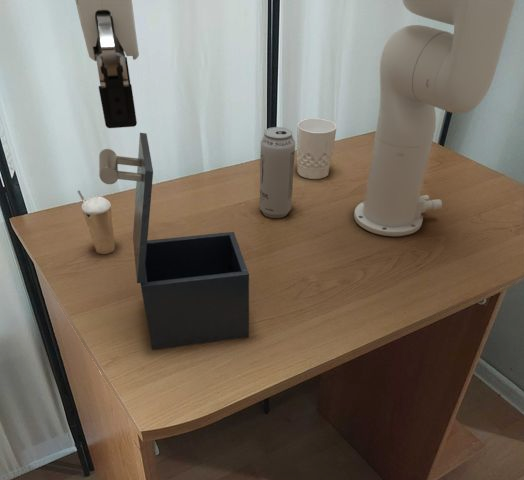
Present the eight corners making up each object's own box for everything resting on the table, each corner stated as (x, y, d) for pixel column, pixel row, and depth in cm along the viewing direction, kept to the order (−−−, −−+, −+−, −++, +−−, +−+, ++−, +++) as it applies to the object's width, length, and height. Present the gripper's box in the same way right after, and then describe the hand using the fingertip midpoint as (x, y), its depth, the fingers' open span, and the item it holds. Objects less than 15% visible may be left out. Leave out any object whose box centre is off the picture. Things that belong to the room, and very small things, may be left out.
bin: (235, 292, 83) (233, 231, 76) (248, 337, 76) (249, 273, 68) (146, 303, 81) (136, 241, 73) (151, 350, 73) (140, 286, 66)
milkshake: (99, 238, 94) (87, 184, 87) (124, 246, 92) (114, 192, 85) (82, 251, 91) (68, 196, 84) (107, 259, 89) (95, 204, 82)
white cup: (329, 182, 111) (334, 134, 105) (291, 178, 112) (294, 130, 106) (333, 166, 117) (338, 120, 110) (297, 163, 118) (300, 116, 111)
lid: (146, 133, 64) (99, 127, 62) (153, 171, 56) (99, 165, 55) (138, 238, 73) (97, 235, 71) (143, 283, 66) (97, 281, 64)
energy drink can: (258, 204, 104) (259, 125, 94) (289, 203, 104) (293, 125, 94) (260, 219, 100) (262, 139, 89) (292, 219, 100) (297, 139, 90)
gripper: (136, -78, 42) (161, 137, 54) (125, -96, 55) (148, 83, 66) (37, -78, 41) (84, 143, 53) (49, -96, 53) (85, 87, 65)
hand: (119, 110), depth 60 cm, fingers open, 9 cm apart
